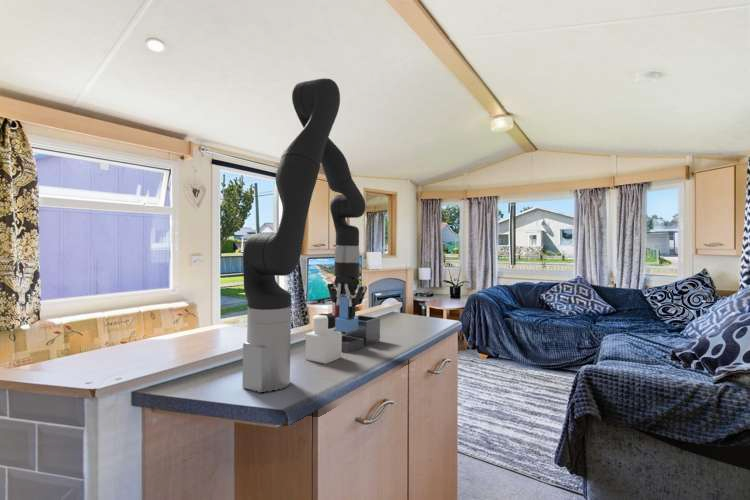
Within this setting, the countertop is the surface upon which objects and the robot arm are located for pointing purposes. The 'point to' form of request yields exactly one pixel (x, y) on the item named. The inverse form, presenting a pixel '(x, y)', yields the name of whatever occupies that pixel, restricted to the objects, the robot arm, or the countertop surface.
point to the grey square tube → (367, 330)
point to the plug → (345, 317)
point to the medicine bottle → (323, 340)
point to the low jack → (351, 343)
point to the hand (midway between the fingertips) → (346, 317)
